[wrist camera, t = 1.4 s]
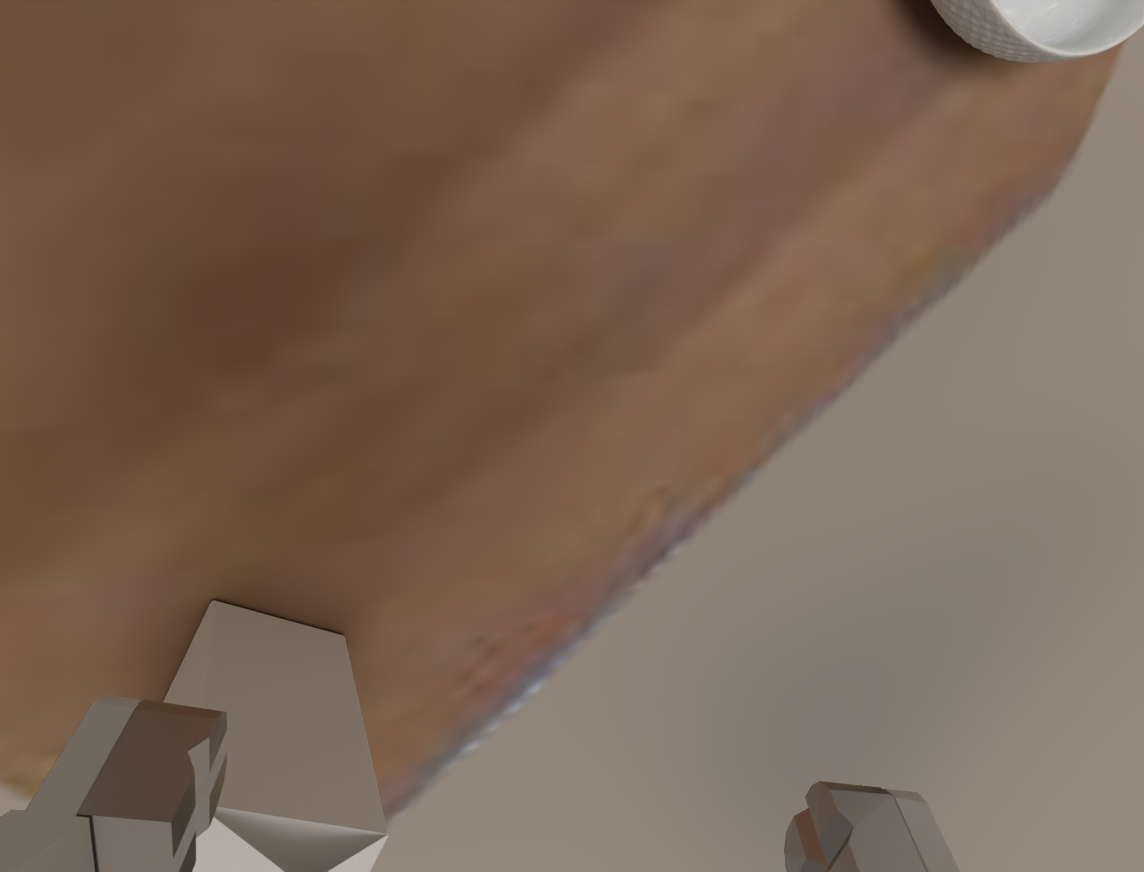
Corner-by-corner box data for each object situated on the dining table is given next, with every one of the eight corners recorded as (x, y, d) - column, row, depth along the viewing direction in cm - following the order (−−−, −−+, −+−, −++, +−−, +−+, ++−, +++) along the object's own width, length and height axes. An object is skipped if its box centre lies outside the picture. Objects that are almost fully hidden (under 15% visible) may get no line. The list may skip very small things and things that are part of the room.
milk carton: (345, 633, 43) (409, 922, 26) (290, 745, 44) (317, 1097, 27) (212, 596, 40) (186, 899, 23) (154, 717, 41) (88, 1098, 24)
